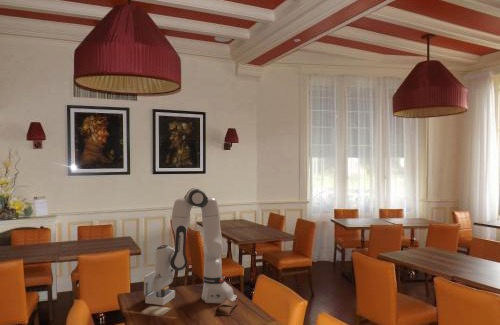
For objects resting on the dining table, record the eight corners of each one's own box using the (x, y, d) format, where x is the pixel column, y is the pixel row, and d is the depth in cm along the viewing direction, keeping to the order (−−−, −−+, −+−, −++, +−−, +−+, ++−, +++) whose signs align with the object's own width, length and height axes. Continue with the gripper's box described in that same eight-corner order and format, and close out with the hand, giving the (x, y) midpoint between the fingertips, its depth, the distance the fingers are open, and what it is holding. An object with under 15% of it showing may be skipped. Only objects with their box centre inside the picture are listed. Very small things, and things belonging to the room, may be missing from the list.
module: (169, 297, 241) (169, 286, 241) (165, 300, 236) (165, 289, 236) (160, 296, 243) (160, 285, 243) (156, 299, 238) (156, 288, 238)
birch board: (171, 309, 227) (171, 308, 227) (163, 316, 217) (163, 314, 217) (150, 307, 231) (150, 305, 231) (141, 313, 221) (141, 311, 221)
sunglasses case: (229, 315, 219) (224, 304, 219) (219, 320, 220) (214, 309, 221) (238, 303, 236) (233, 293, 237) (228, 308, 238) (223, 298, 238)
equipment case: (174, 298, 245) (175, 271, 245) (163, 307, 231) (163, 278, 231) (156, 296, 249) (156, 269, 249) (143, 304, 234) (144, 276, 234)
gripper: (158, 277, 229) (158, 300, 229) (174, 268, 248) (174, 289, 248) (149, 276, 230) (149, 299, 230) (165, 267, 250) (165, 288, 250)
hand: (162, 294), depth 239 cm, fingers closed on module, 5 cm apart
